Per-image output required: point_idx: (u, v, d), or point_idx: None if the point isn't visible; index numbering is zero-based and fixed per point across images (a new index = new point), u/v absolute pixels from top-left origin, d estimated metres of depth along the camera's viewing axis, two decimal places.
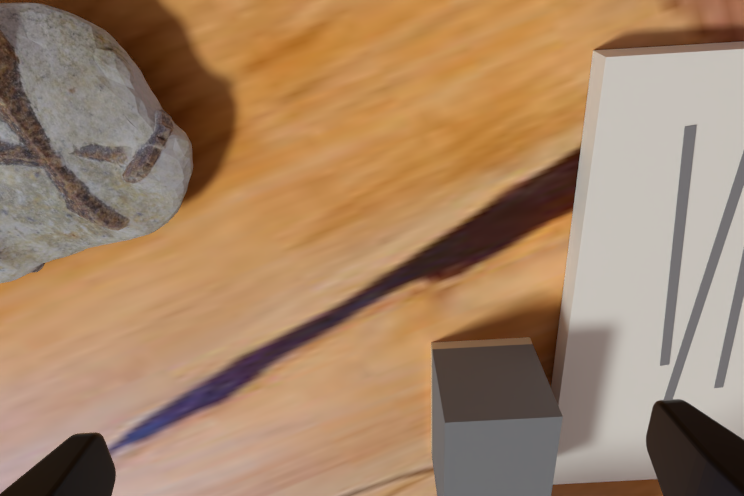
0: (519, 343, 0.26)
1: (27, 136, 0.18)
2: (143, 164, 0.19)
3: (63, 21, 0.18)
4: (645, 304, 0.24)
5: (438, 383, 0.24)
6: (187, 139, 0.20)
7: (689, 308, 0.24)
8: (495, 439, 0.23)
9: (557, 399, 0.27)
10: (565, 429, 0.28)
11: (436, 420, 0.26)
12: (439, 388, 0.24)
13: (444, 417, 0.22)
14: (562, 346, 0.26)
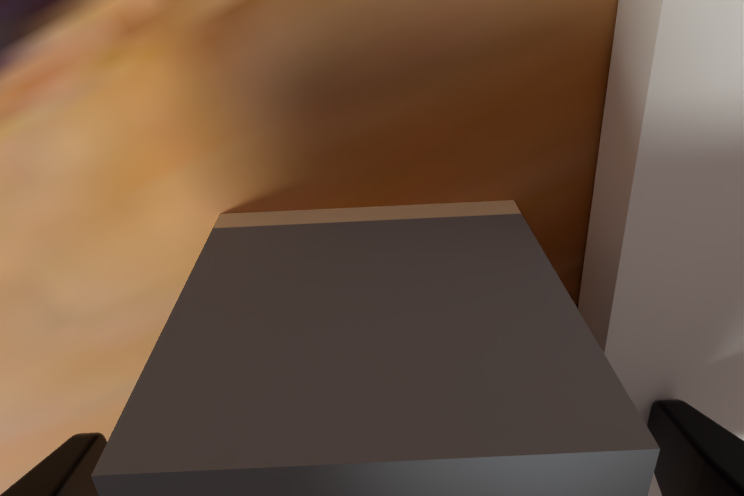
0: (483, 212, 0.09)
1: None
2: None
3: None
4: None
5: (174, 317, 0.07)
6: None
7: None
8: None
9: None
10: None
11: None
12: (163, 331, 0.06)
13: (109, 448, 0.05)
14: (613, 213, 0.08)
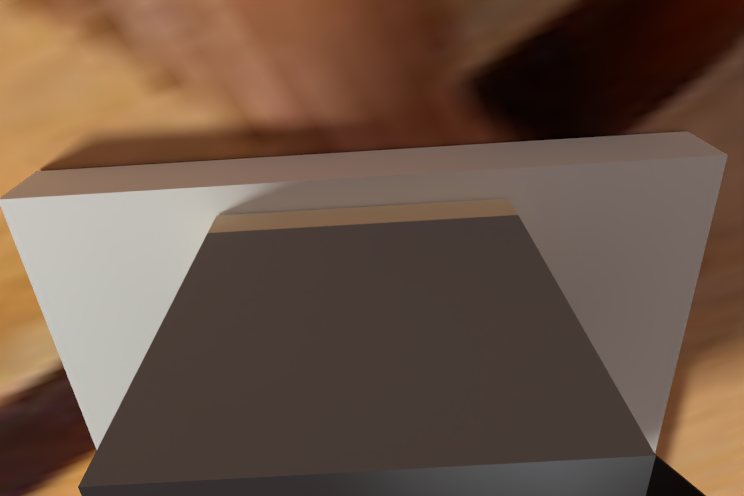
0: (479, 213, 0.08)
1: None
2: None
3: None
4: None
5: (166, 324, 0.07)
6: None
7: None
8: None
9: None
10: None
11: None
12: (156, 338, 0.06)
13: (97, 459, 0.05)
14: None
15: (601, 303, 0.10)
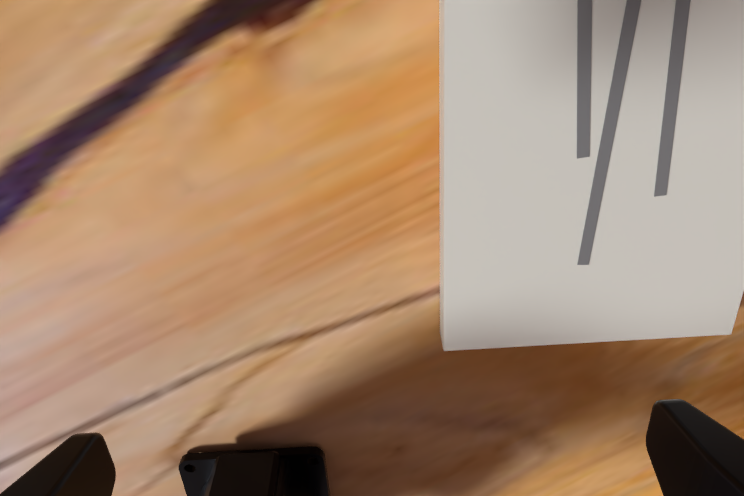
0: None
1: None
2: None
3: None
4: (548, 52, 0.17)
5: None
6: None
7: (610, 60, 0.17)
8: None
9: (443, 216, 0.20)
10: (457, 263, 0.20)
11: None
12: None
13: None
14: (442, 131, 0.19)
15: None
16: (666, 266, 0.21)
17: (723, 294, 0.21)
